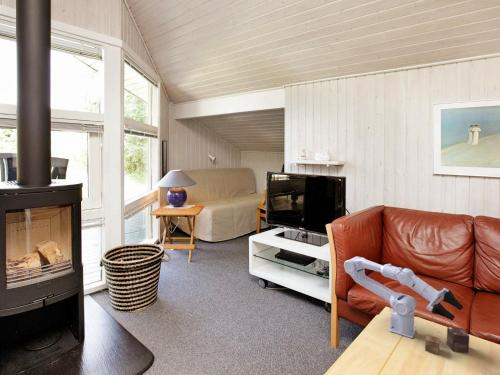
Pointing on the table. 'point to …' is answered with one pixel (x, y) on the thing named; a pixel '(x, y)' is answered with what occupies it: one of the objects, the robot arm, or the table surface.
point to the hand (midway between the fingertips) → (458, 313)
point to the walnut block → (432, 344)
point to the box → (457, 339)
